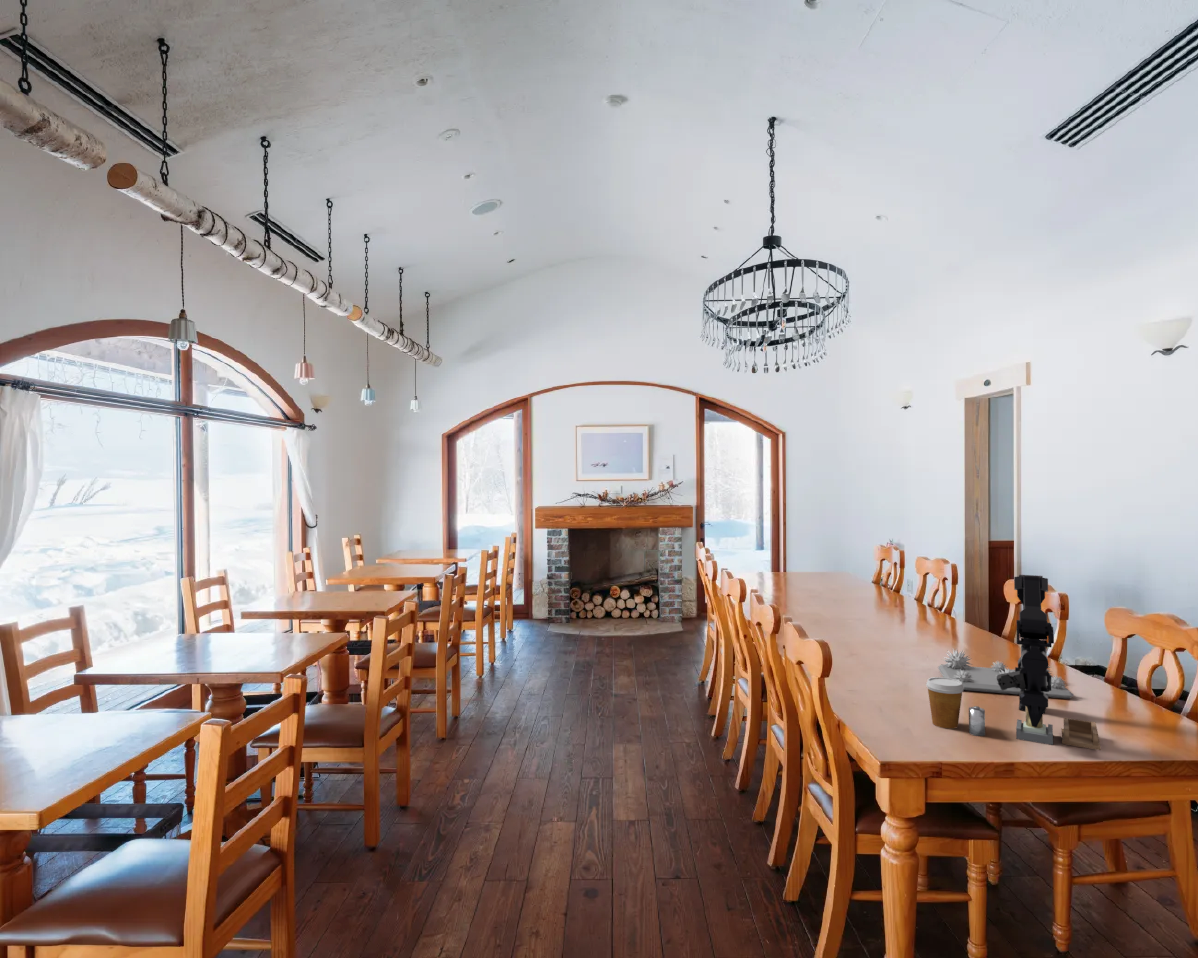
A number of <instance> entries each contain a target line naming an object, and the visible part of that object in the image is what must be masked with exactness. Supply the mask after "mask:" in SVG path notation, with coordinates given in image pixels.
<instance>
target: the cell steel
mask: <svg viewBox="0 0 1198 958" xmlns="http://www.w3.org/2000/svg"><path fill="white" fill-rule="evenodd" d="M968 733H969V734H970V735H972V736H976V737H985V736H986V710H985V709H984V708H981V707H980V706H979V705H978V706H977V705H973V706H969V707H968Z"/></svg>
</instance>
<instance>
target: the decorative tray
mask: <svg viewBox="0 0 1198 958" xmlns="http://www.w3.org/2000/svg"><path fill="white" fill-rule="evenodd" d="M945 654H946V655H947V656H948V657H946V656H943V661H944V662H945V664H940V665H939V666H937V668H938V671H939V672H940V674H941V675H942V676H941V677H944V678H951V679H955V680H958V681H960V682H962V685H963V687H964V690H963V691H970V692H982V693H983V692H984V693H995V694H996V693H997V694H1006V695H1007V694H1009V695H1020V688H1015V687H1013V688H1008V689H1006V690H1001V688H1000V686H999V685H998V681H997V675H999V674H1004V673H1009V672H1015V667H1014V668H1013V669H1012V668H1011V669H1010V667H1008V666H1007V665H1006V664H1004V661H999V660H997V659H996V661H995V662H994V661H993V662H992V664H993V665H990V666H989V667H983V666H982V667H981V666H971V665H974V664H972V663H971V662H970V660H971V656H970V655H966V652H965V650H964V649H962V650H960V651H959V652H958V649H954V648H952V652H951V651H949V650H947V652H945ZM965 655H966V656H965ZM1050 668H1051V666H1050V665H1049V663H1048V668H1047V671H1049V674H1050V675H1051V691H1049V692H1044V693H1045V694H1047V695H1048V698H1054V699H1067V700H1068V699H1069V700H1070V699H1071V698H1073V697H1074V696H1075V695H1074V693H1072V691H1070V690H1069V689H1068V688H1067V685H1066V683H1065V681H1066V680H1065V679H1063V678H1062V676H1061V675H1060V676H1058V675H1057V674H1056V675H1055V674H1053V675H1052V673H1053V671H1052V670H1050Z"/></svg>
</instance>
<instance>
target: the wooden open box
mask: <svg viewBox="0 0 1198 958" xmlns="http://www.w3.org/2000/svg"><path fill="white" fill-rule="evenodd" d="M1061 744H1062V745H1067V746H1073V747H1078V748H1084V749H1085V748H1086V749H1092V750H1095V751H1096V750H1098V751H1101V749H1102V747H1101V741H1100V737H1099V732H1098V728H1097V723H1096V722H1095V721H1089V720H1083V719H1075V718H1070V717H1063V728H1061Z"/></svg>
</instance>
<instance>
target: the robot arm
mask: <svg viewBox="0 0 1198 958" xmlns="http://www.w3.org/2000/svg"><path fill="white" fill-rule="evenodd" d="M1013 579H1014V580H1013V581H1014V582H1013V584H1014V585H1013V588H1014V589H1013V590H1014V591H1016V596H1017V599H1018V600H1019V601H1020V602H1021V604H1022V610H1021V611H1020V612H1019V619H1016V645H1020V657H1019V658H1018V660H1017V666H1015V667H1014V668H1015V669H1014V670H1015V672H1009V673H1004V674H999V675H997V681H998V685H999V686H1000V688H1001V690H1006V689H1008V688H1013V687H1015V688H1020V695H1019V697H1018V700H1019V703H1018V710H1020V711H1024V712H1026V707H1027V708H1028V712H1029V716H1030V720H1031V724H1032V726H1033V727H1037V725H1038V723H1039V721H1040V719H1041V717H1042V715H1044V714H1045V713H1046V709H1047V708H1049V697H1048V695H1047V694H1045V693H1044V692H1049V691H1051V675H1052V674H1049V673H1050V672H1049V671H1050V670H1049V671H1047V668H1048V666H1049V665H1048V664H1049V658H1048V656H1047V655H1048V654H1047V648H1052V645H1053V644H1055V636H1054V627H1053V626H1052V623H1051V622H1048V615H1047V613H1046V612H1045V611H1043V610H1042V603H1044V602H1043V601H1045V599H1046V593H1048V592H1049V578H1047V577H1043V575H1032V574H1019V575H1018V576H1014V578H1013ZM1048 669H1049V668H1048Z"/></svg>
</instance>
